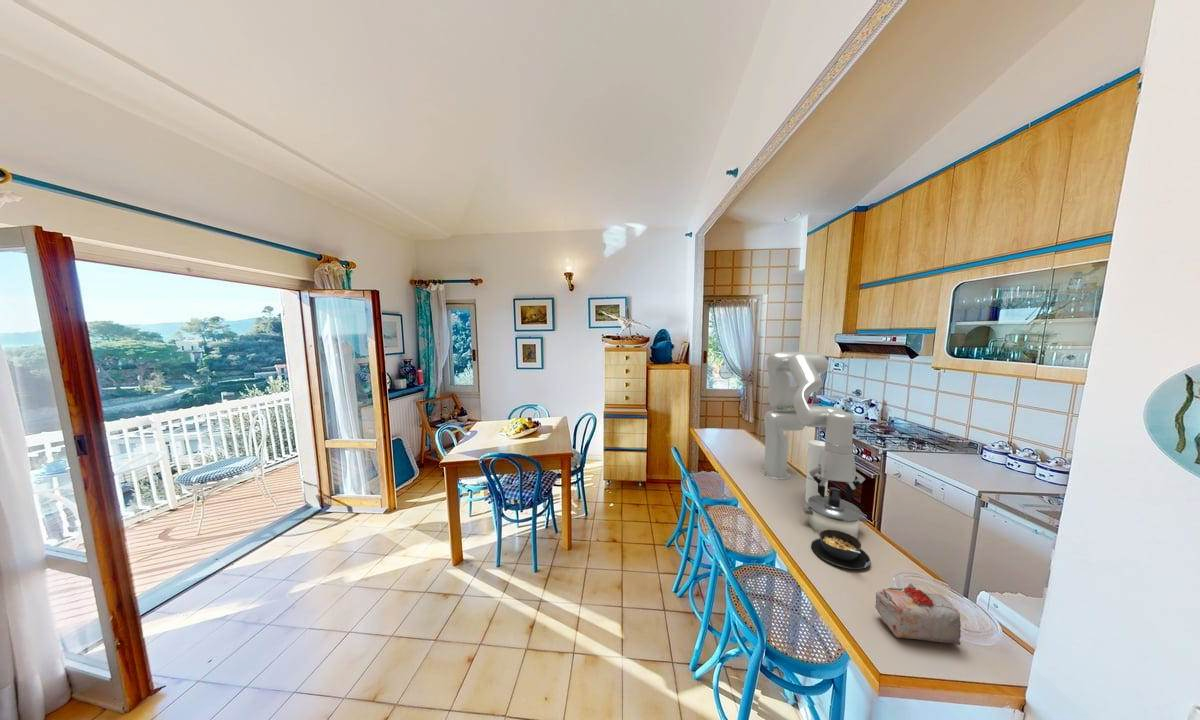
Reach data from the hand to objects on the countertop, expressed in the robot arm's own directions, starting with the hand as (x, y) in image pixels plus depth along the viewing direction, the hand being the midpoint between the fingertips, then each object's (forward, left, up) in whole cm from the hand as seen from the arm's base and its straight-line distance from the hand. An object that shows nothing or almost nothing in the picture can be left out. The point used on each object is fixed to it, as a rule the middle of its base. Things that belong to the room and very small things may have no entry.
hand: (834, 496), depth 115 cm
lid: (0, 0, -5) cm, 5 cm away
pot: (0, 0, -12) cm, 12 cm away
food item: (+40, +3, -12) cm, 42 cm away
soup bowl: (+15, -3, -12) cm, 20 cm away
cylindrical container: (-18, 0, -12) cm, 22 cm away
